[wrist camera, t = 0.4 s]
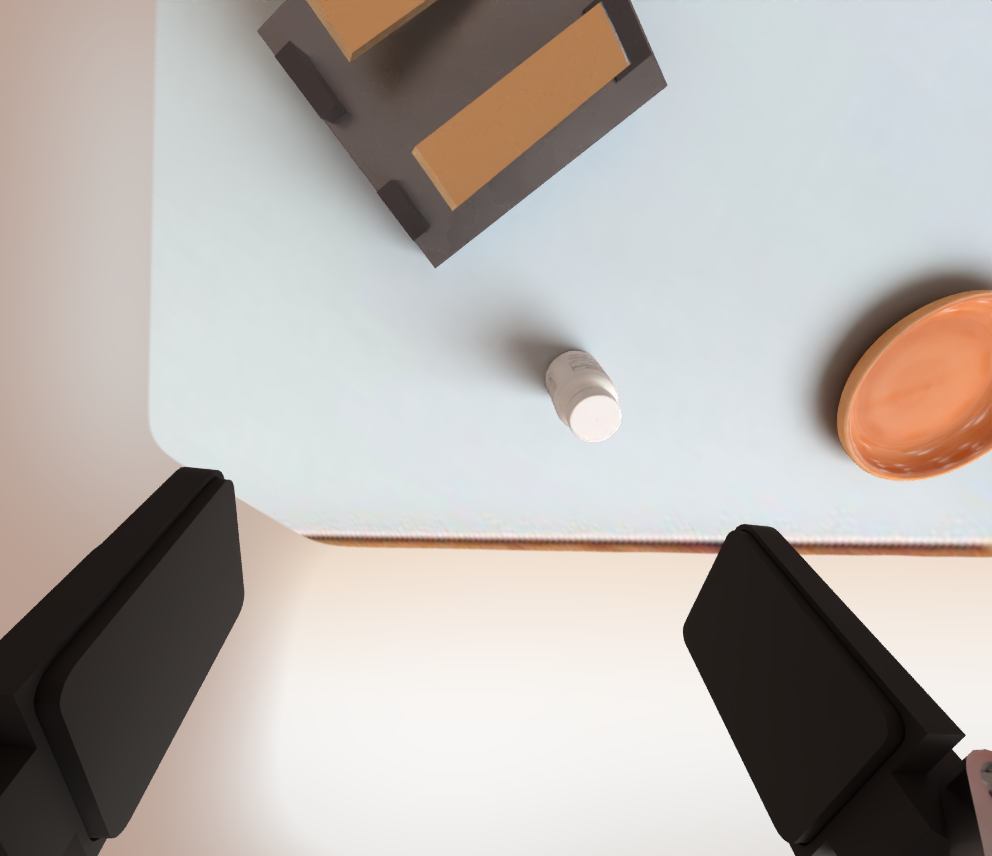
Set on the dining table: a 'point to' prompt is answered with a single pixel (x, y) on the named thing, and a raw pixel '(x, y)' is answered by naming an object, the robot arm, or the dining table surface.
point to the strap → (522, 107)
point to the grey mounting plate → (451, 99)
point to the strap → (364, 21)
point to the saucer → (923, 392)
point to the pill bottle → (583, 396)
